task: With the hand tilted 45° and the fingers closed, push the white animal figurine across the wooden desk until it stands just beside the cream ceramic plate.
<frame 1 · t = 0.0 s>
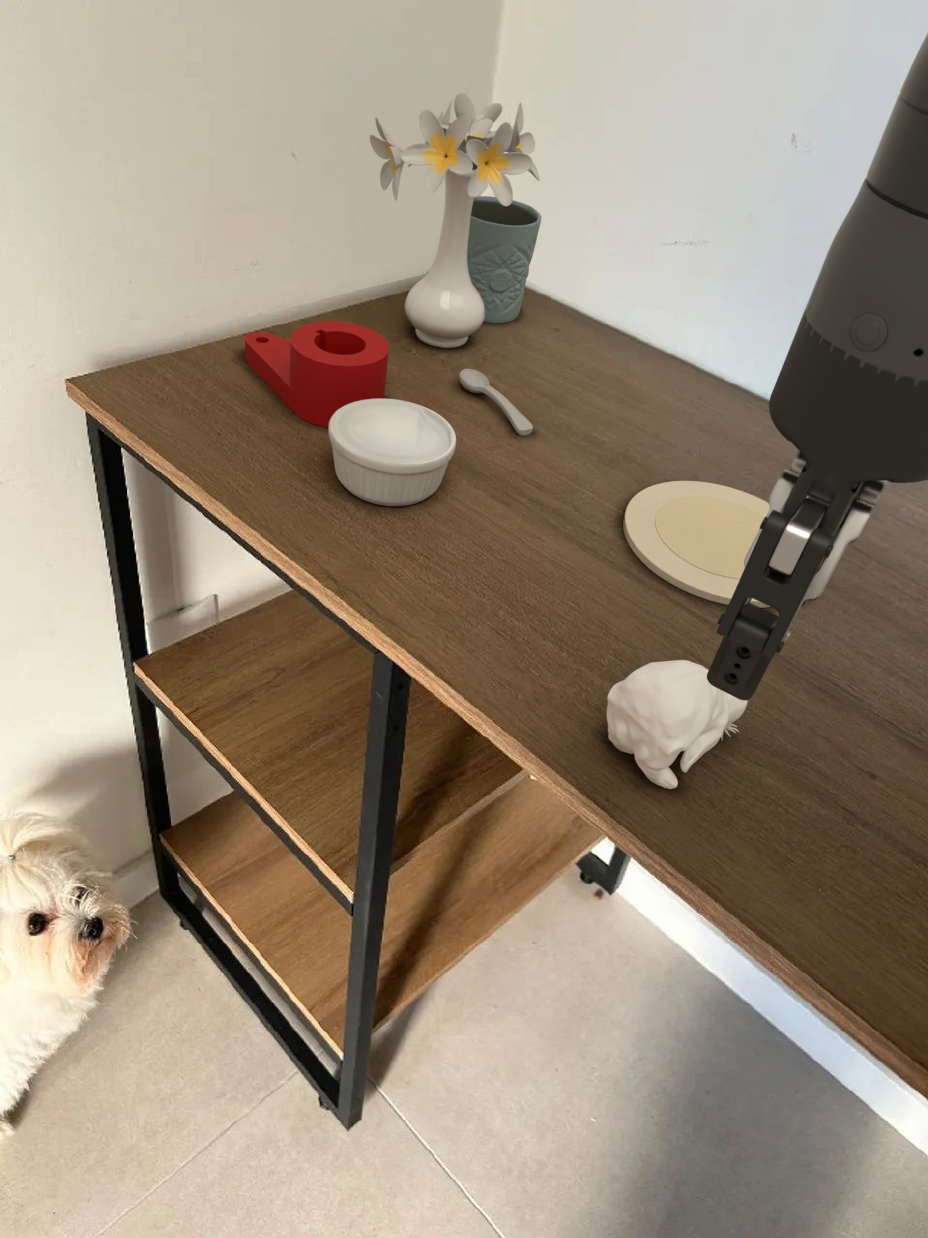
hand: (757, 640, 46), 19 cm above the table, tool pointing down, fingers open, 8 cm apart
flower vase: (438, 340, 109), on the table
white animal figurine: (671, 746, 66), on the table
drinking glass: (483, 309, 117), on the table
spoon: (493, 408, 98), on the table
ramekin: (388, 481, 85), on the table
lever: (307, 388, 96), on the table
plate: (719, 543, 85), on the table
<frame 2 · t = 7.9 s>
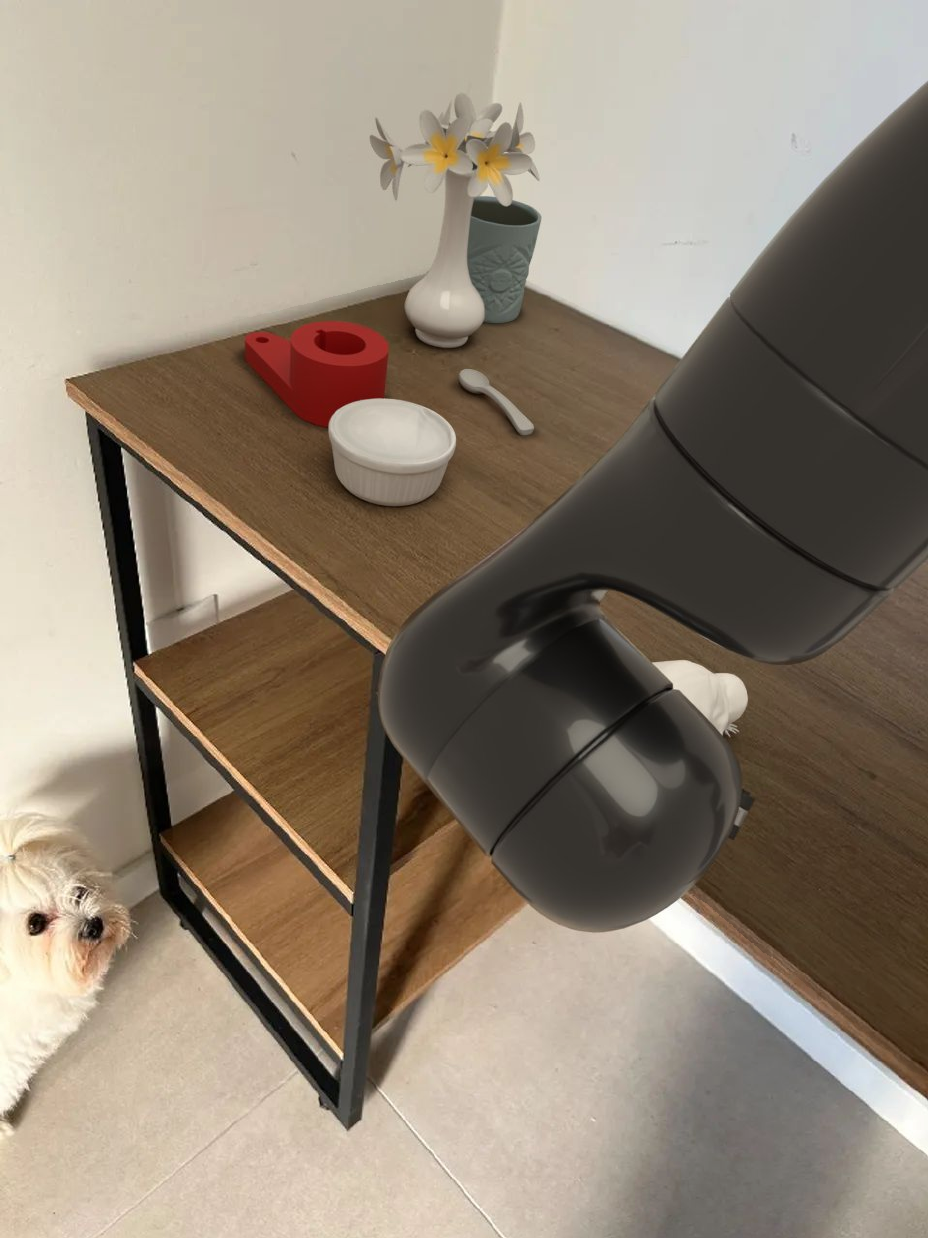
hand: (650, 764, 58), 4 cm above the table, tool tilted 45°, fingers closed
white animal figurine: (671, 746, 66), on the table, touching gripper
everything else where it was.
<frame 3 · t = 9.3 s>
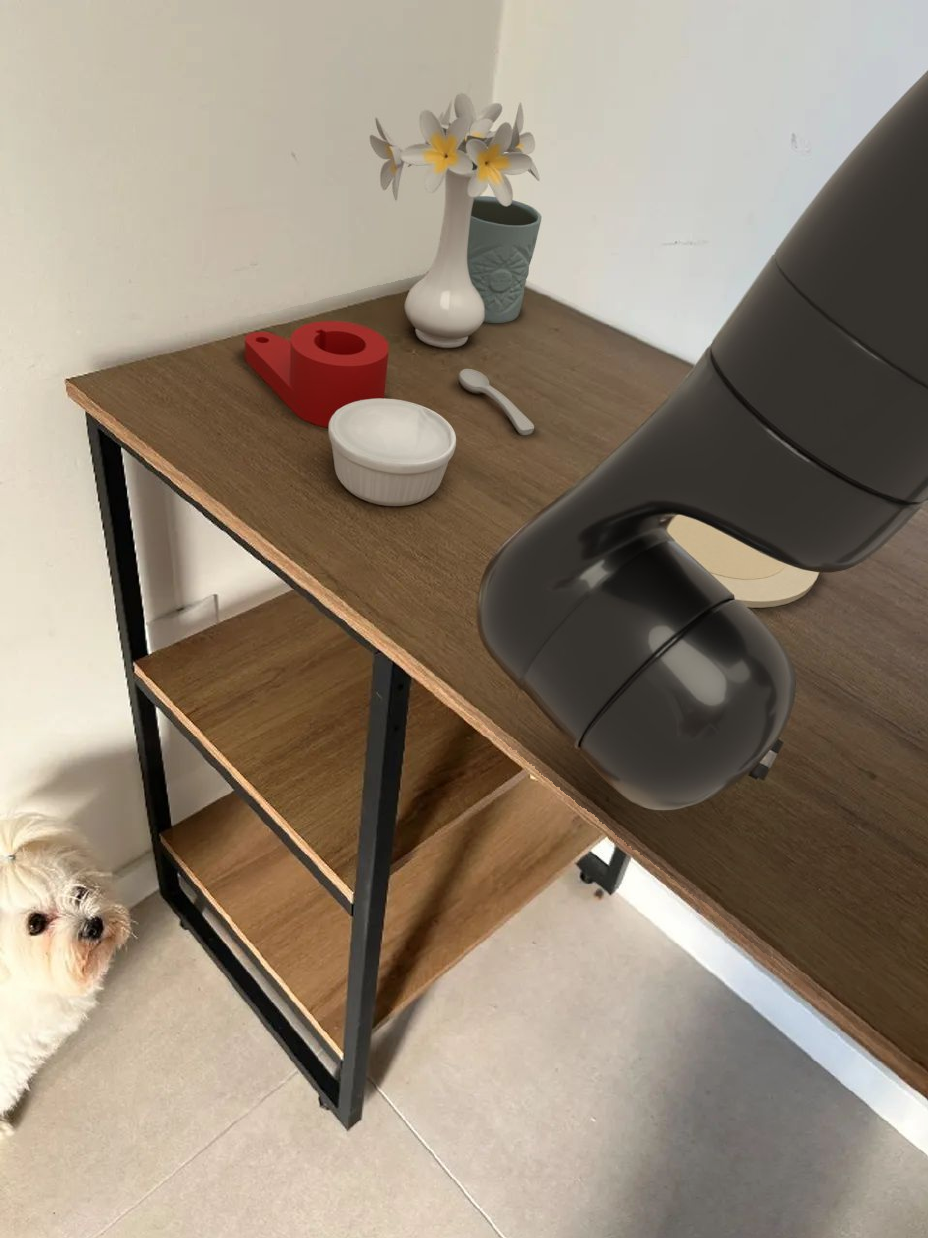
hand: (680, 719, 62), 4 cm above the table, tool tilted 45°, fingers closed
white animal figurine: (691, 703, 69), on the table, touching gripper
everything else where it was.
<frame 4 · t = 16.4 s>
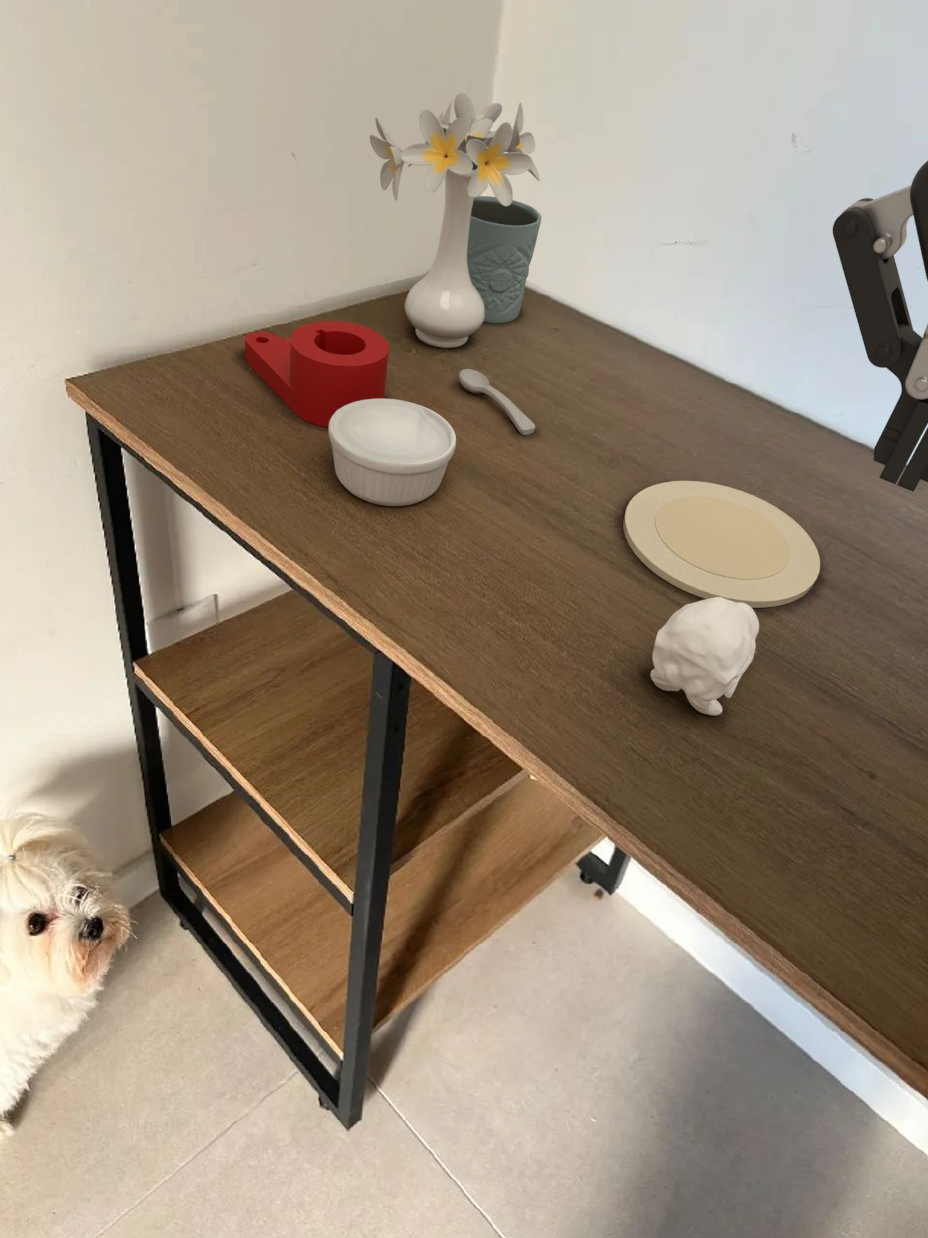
hand: (899, 476, 39), 29 cm above the table, tool pointing down, fingers closed
white animal figurine: (700, 677, 71), on the table
everything else where it was.
at the end: white animal figurine inside the target area on the table beside the plate (1.8 cm from its centre), on the table; white animal figurine tilted 0°; white animal figurine moved 8.2 cm from its start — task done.
